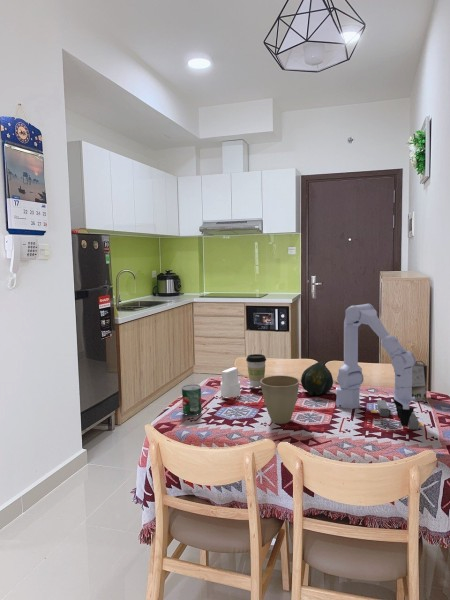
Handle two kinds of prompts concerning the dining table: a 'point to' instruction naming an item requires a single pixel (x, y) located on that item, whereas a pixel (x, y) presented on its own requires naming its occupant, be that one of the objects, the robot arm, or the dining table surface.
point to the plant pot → (280, 397)
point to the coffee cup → (256, 368)
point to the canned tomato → (191, 399)
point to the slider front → (413, 422)
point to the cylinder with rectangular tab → (230, 383)
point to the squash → (317, 379)
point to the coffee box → (419, 381)
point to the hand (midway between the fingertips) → (402, 421)
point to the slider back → (382, 407)
